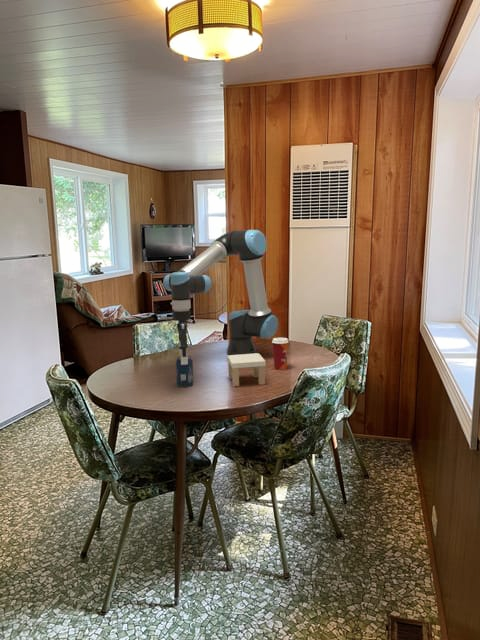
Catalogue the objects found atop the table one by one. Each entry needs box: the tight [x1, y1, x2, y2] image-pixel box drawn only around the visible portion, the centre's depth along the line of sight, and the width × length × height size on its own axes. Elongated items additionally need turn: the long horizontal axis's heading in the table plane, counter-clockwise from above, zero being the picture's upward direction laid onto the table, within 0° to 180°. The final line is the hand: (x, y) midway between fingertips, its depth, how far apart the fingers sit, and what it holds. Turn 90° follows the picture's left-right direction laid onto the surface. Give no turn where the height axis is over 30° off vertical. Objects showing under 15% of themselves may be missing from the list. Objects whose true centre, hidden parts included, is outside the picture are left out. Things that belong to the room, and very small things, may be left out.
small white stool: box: [226, 352, 266, 388], centre depth 204 cm, size 14×14×10 cm
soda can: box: [175, 355, 194, 387], centre depth 200 cm, size 7×7×12 cm
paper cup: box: [271, 337, 289, 371], centre depth 221 cm, size 8×8×14 cm
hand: (183, 360), depth 199 cm, fingers open, 13 cm apart
